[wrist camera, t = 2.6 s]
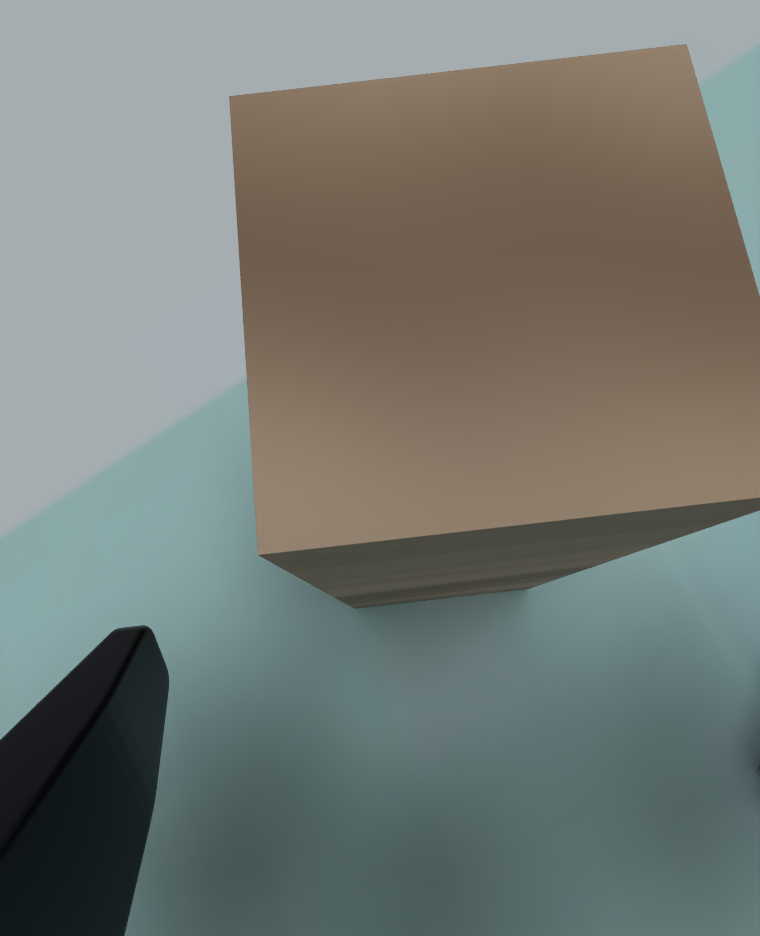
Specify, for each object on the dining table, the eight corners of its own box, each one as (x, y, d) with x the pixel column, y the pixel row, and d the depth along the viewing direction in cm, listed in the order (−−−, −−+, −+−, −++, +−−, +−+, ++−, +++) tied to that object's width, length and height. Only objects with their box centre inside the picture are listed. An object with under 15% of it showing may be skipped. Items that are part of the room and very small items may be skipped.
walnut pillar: (528, 588, 18) (815, 490, 6) (354, 608, 18) (258, 555, 6) (500, 423, 20) (685, 44, 7) (338, 441, 20) (229, 96, 7)
